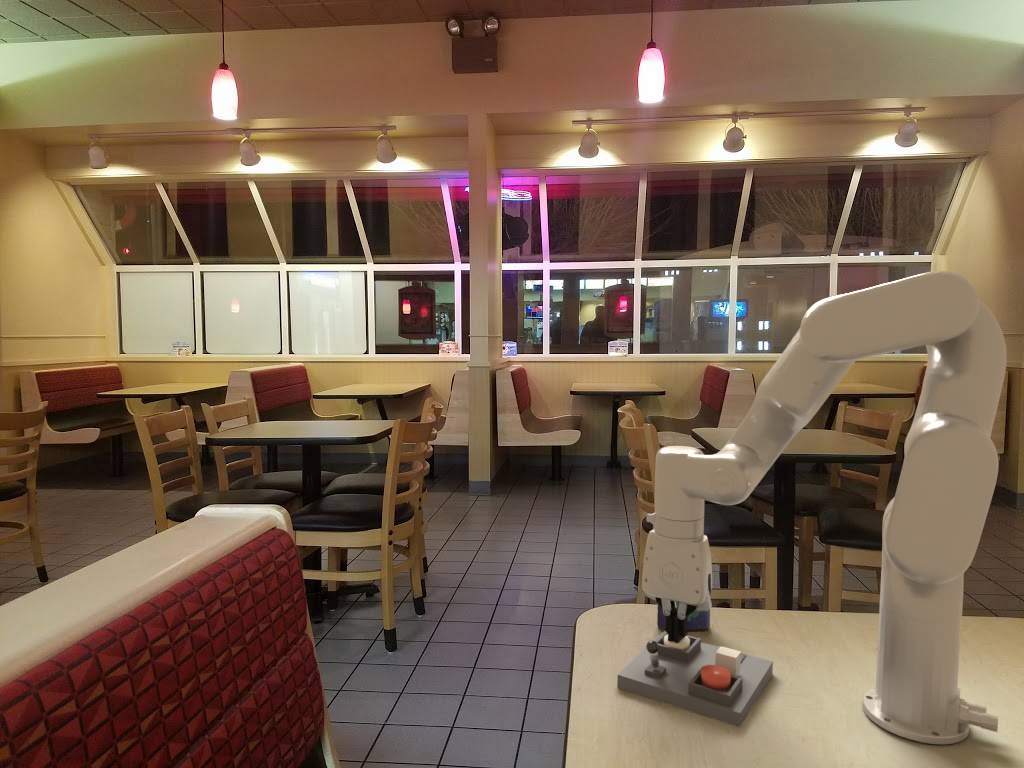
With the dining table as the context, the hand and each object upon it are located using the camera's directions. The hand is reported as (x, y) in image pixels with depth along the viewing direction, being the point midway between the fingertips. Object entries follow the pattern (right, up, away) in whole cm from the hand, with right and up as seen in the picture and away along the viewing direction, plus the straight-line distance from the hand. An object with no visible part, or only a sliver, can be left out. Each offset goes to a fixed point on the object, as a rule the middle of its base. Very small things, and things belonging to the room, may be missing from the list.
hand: (676, 638), depth 110 cm
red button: (+3, -2, -12) cm, 12 cm away
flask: (+4, -3, +13) cm, 14 cm away
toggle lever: (-5, -2, -7) cm, 9 cm away
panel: (+2, -4, -5) cm, 7 cm away
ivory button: (0, -2, 0) cm, 2 cm away
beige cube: (+6, -2, -7) cm, 10 cm away
